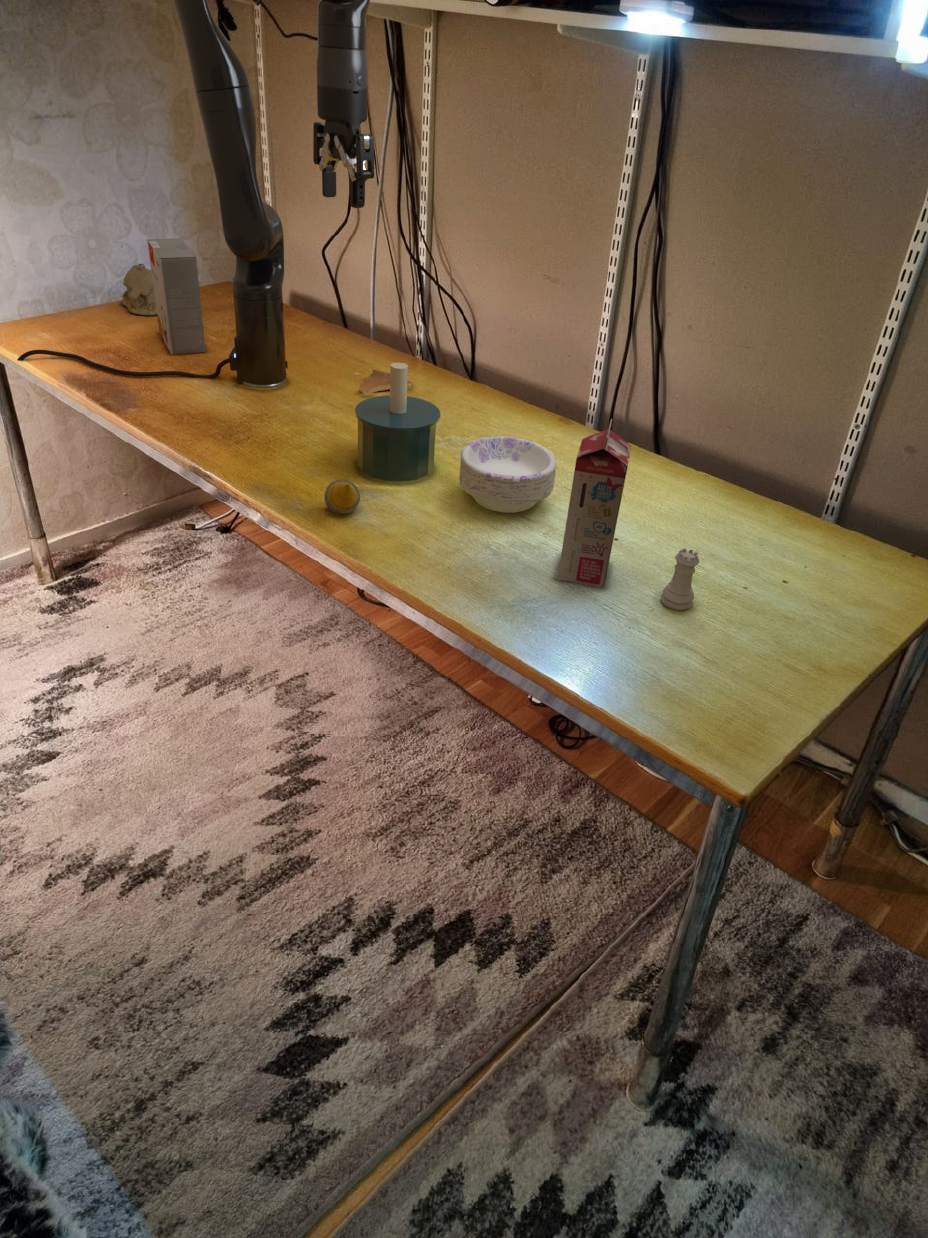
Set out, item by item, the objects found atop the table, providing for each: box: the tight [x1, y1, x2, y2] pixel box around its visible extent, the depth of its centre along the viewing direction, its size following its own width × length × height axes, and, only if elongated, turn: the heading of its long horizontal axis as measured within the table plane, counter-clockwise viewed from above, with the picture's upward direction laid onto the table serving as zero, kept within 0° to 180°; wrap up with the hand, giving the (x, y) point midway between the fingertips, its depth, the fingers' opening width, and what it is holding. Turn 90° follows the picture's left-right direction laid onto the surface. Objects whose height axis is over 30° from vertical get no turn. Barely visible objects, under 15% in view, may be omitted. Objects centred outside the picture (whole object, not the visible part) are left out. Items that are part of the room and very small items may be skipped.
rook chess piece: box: [660, 547, 700, 611], centre depth 118 cm, size 4×4×8 cm
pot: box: [357, 418, 437, 483], centre depth 146 cm, size 13×13×10 cm
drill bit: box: [323, 478, 361, 516], centre depth 132 cm, size 5×5×10 cm
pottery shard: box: [358, 369, 412, 395], centre depth 177 cm, size 10×9×2 cm
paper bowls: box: [458, 436, 558, 514], centre depth 139 cm, size 15×15×8 cm
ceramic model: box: [121, 263, 157, 316], centre depth 208 cm, size 14×11×10 cm
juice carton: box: [556, 418, 632, 589], centre depth 119 cm, size 7×7×22 cm
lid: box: [354, 362, 441, 431], centre depth 141 cm, size 14×14×9 cm
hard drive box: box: [146, 238, 206, 356], centre depth 186 cm, size 16×8×20 cm, turn 25°
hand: (343, 201), depth 139 cm, fingers open, 8 cm apart
